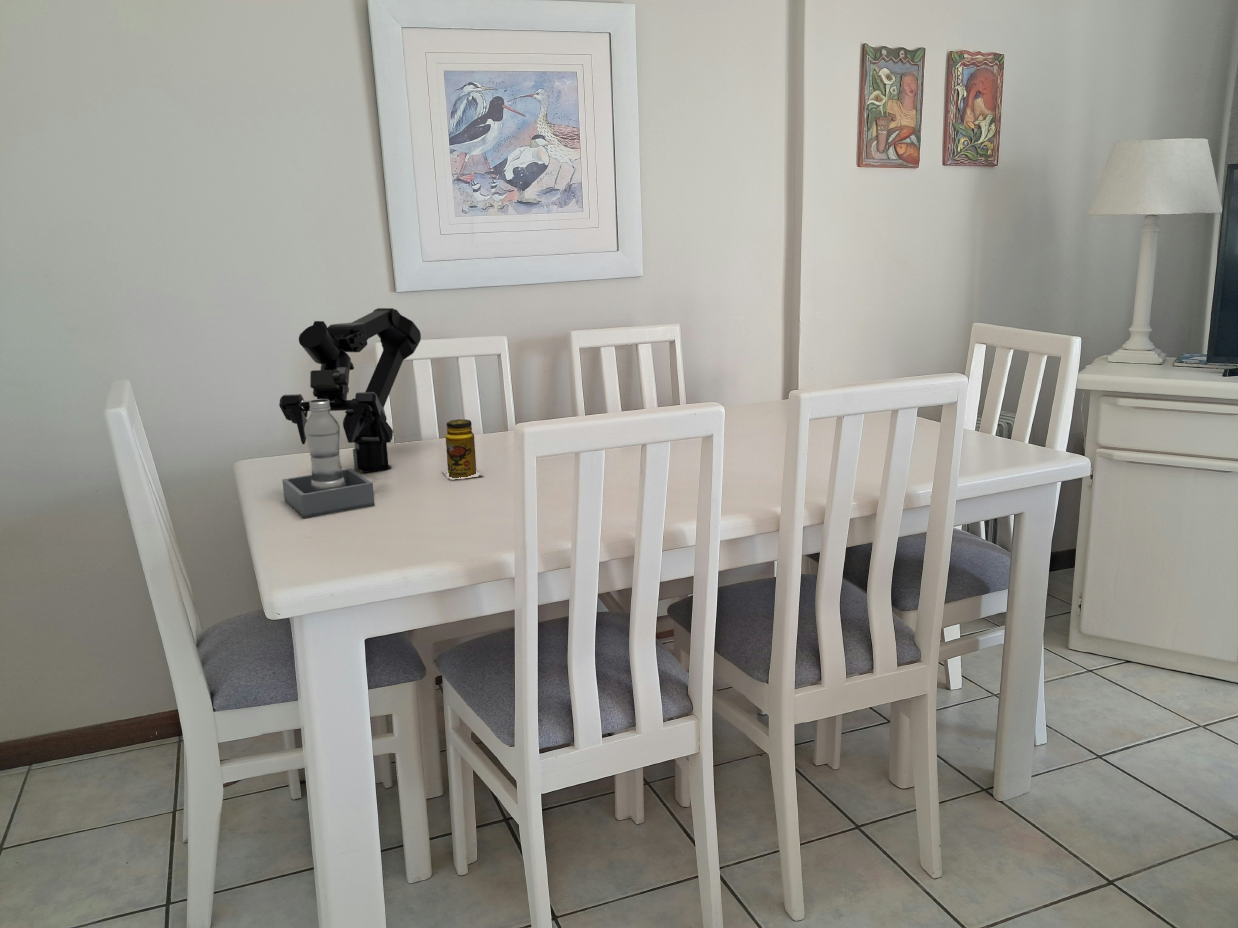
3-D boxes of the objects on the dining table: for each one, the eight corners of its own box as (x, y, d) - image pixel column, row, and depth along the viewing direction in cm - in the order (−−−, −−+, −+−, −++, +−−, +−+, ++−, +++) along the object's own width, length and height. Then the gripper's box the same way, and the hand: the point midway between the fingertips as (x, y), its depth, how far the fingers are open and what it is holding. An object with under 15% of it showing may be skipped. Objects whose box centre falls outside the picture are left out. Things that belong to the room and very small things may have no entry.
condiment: (450, 481, 196) (446, 426, 192) (441, 472, 203) (437, 418, 200) (483, 477, 198) (480, 422, 195) (473, 468, 206) (470, 415, 203)
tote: (352, 489, 191) (350, 468, 190) (374, 505, 180) (372, 483, 178) (284, 501, 183) (282, 479, 182) (303, 518, 172) (301, 495, 171)
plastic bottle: (330, 508, 176) (319, 405, 171) (304, 504, 179) (293, 402, 174) (354, 499, 182) (345, 399, 177) (329, 495, 185) (318, 396, 180)
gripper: (276, 354, 181) (265, 421, 173) (372, 351, 182) (366, 418, 174) (291, 387, 191) (282, 452, 183) (383, 384, 192) (378, 448, 184)
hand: (326, 442), depth 181 cm, fingers open, 9 cm apart
